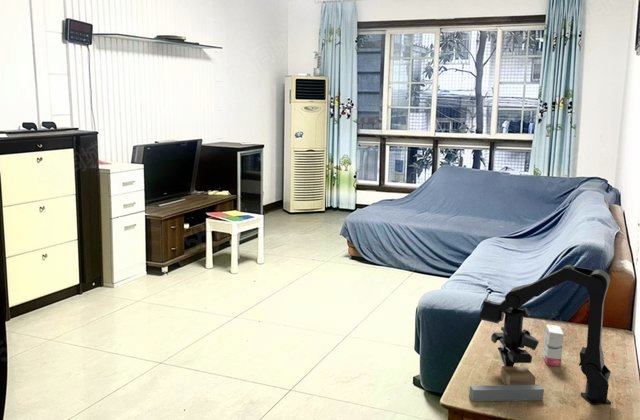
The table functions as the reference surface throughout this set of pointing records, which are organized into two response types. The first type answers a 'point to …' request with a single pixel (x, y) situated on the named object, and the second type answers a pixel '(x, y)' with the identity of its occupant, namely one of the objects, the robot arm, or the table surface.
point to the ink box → (553, 345)
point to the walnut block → (517, 376)
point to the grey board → (505, 392)
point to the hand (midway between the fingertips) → (508, 371)
